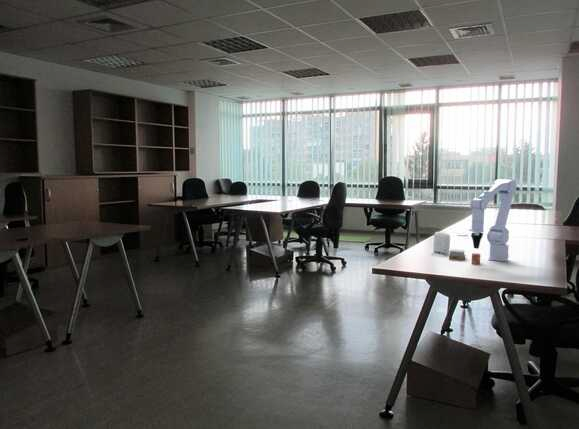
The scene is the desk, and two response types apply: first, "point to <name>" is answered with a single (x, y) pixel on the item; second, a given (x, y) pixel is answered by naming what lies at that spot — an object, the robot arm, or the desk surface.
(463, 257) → the walnut slab
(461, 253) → the grey slab
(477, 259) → the red block
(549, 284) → the desk surface
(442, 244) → the photo printer
